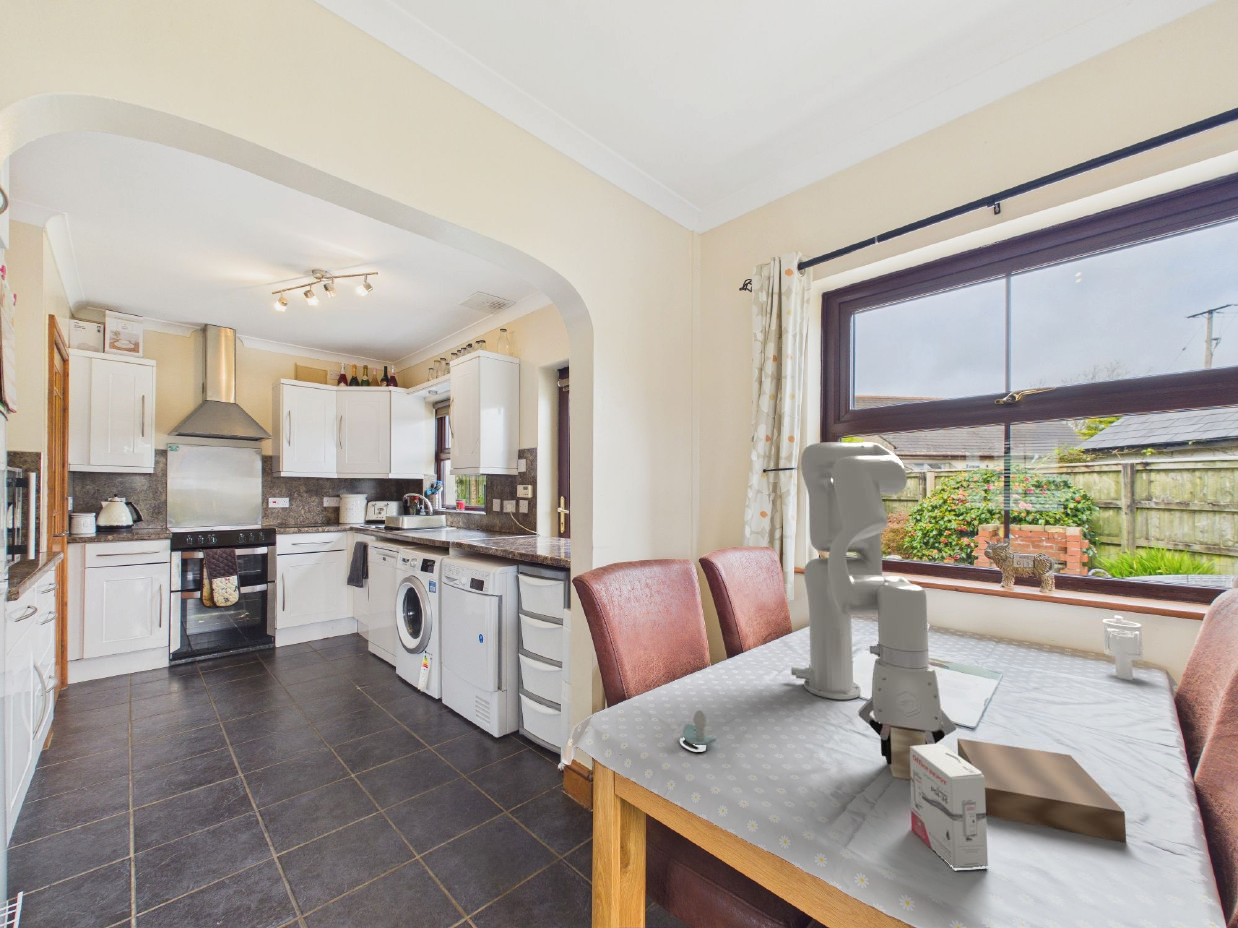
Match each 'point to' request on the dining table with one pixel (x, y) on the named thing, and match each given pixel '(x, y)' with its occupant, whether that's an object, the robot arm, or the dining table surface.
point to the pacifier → (697, 730)
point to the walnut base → (1043, 790)
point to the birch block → (903, 749)
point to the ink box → (948, 805)
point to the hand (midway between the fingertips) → (906, 762)
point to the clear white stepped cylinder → (1123, 645)
